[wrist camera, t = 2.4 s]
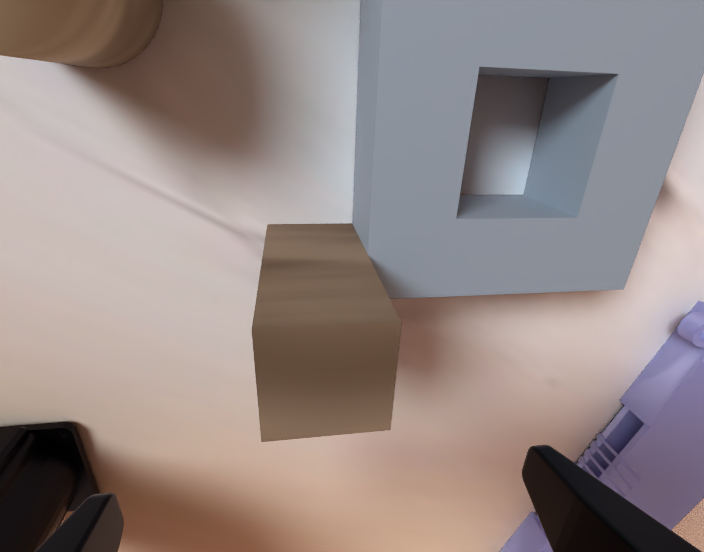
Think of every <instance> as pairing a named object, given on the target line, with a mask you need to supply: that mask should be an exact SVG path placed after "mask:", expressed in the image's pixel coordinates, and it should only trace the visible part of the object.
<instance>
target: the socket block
mask: <svg viewBox="0 0 704 552" xmlns="http://www.w3.org/2000/svg"><path fill="white" fill-rule="evenodd" d="M703 73H704V0H361V8H360V35H359V62H358V89H357V116H356V143H355V170H354V197H353V226H354V228H355V230H356V232H357V234H358V236H359V238H360V240H361V242H362V244H363V246H364V248H365V250H366V252H367V254H368V256H369V258H370V260H371V262H372V264H373V266H374V268H375V270H376V272H377V274H378V276H379V278H380V280H381V282H382V284H383V286H384V288H385V290H386V292H387V294H388V296H389V298H390V299H401V298H426V297H450V296H474V295H498V294H523V293H547V292H571V291H595V290H620V289H624V287H625V284H626V282H627V279H628V276H629V274H630V271H631V268H632V265H633V263H634V260H635V257H636V255H637V252H638V249H639V247H640V244H641V241H642V238H643V236H644V233H645V230H646V228H647V225H648V222H649V219H650V217H651V214H652V211H653V209H654V206H655V203H656V200H657V198H658V195H659V192H660V190H661V187H662V184H663V181H664V179H665V176H666V173H667V171H668V168H669V165H670V163H671V160H672V157H673V154H674V152H675V149H676V146H677V144H678V141H679V138H680V135H681V133H682V130H683V127H684V125H685V122H686V119H687V116H688V114H689V111H690V108H691V106H692V103H693V100H694V97H695V95H696V92H697V89H698V87H699V84H700V81H701V79H702V76H703ZM478 75H498V76H518V77H539V78H550V79H549V84H548V88H547V93H546V97H545V102H544V106H543V111H542V115H541V120H540V124H539V129H538V133H537V138H536V142H535V147H534V151H533V156H532V160H531V165H530V169H529V174H528V178H527V183H526V187H525V192H524V195H460V191H461V184H462V178H463V171H464V165H465V158H466V152H467V145H468V138H469V132H470V125H471V119H472V112H473V106H474V99H475V93H476V86H477V79H478Z"/></svg>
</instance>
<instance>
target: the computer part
mask: <svg viewBox="0 0 704 552" xmlns="http://www.w3.org/2000/svg"><path fill="white" fill-rule="evenodd" d="M620 401H621V402H622V403H623V404H624V407H623V408H622V409H621V410H620V411H619V413H618V414H617V415H616V416H615V418H614V419H613V420H612V421H611V423H610V424H609V425H608V426H607V428H606V429H605V430H604V431H603V433H601V432H600V433H599V434H598V436H597V437H596V438H597V440H594V441H593V442H592V443H591V444H590V446H591V448H587V449H586V451H585V452H584V454H585V455H584V456H581V457H580V458H579V459H578V463H575V464H576V465H578V466H579V467H581V468H582V469H584V470H585V471H586V472H588V473H589V474H591V475H592V476H594V477H595V478H597V479H598V480H599V481H601V482H602V483H604V484H605V485H607V486H608V487H609V488H611V489H612V490H614V491H615V492H617V493H618V494H620V495H621V496H622V497H624V498H625V499H627V500H628V501H630V502H631V503H632V504H634V505H635V506H637V507H638V508H640V509H641V510H643V511H644V512H645V513H647V514H648V515H650V516H651V517H653V518H654V519H655V520H657V521H658V522H660V523H661V524H663V525H664V526H666V527H667V528H668V529H670V530H672V529H673V528H674V527H675V526H676V525H677V524H678V523H679V522H680V521H681V520H682V519H683V518H684V517H685V516H686V515H687V514H688V513H689V512H690V511H691V510H692V509H693V508H694V507H695V506H696V505H697V504H698V503H699V502H700V501H701V500H702V499H703V498H704V302H701V301H698V302H697V303H696V304H695V306H694V307H693V308H692V309H691V311H690V312H689V313H688V314H687V316H686V317H684V318H683V319H682V321H681V322H680V323H679V325H678V327H677V328H676V330H675V331H674V332H673V333H672V335H671V336H670V337H669V338H668V340H667V341H666V342H665V343H664V345H663V346H662V347H661V348H660V350H659V351H658V352H657V354H656V355H655V356H654V357H653V359H652V360H651V361H650V362H649V364H648V365H647V366H646V367H645V369H644V370H643V371H642V372H641V374H640V375H639V376H638V377H637V379H636V380H635V381H634V383H633V384H632V385H631V386H630V388H629V389H628V390H627V391H626V393H625V394H624V395H623V396H622V398H621V399H620ZM499 552H553V550H552V548H551V546H550V544H549V541H548V539H547V537H546V534H545V532H544V529H543V527H542V524H541V522H540V520H539V517H538V515H536V514H535V513H534V512H530V514H529V515H528V516H527V517H526V519H525V520H524V521H523V522H522V524H521V525H520V526H519V527H518V529H517V530H516V531H515V532H514V534H513V535H512V536H511V537H510V539H509V540H508V541H507V543H506V544H505V545H504V546H503V548H502V549H501V550H500V551H499Z"/></svg>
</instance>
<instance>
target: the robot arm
mask: <svg viewBox="0 0 704 552" xmlns="http://www.w3.org/2000/svg"><path fill="white" fill-rule="evenodd" d="M63 431H64V432H63ZM522 477H523V481H524V483H525V486H526V488H527V491H528V493H529V495H530V498H531V500H532V503H533V505H534V508H535V510H536V512H537V515H538V517H539V520H540V522H541V524H542V527H543V529H544V532H545V534H546V537H547V539H548V541H549V544H550V546H551V548H552V550H553V552H701V551H700V550H699V549H697V548H696V547H694V546H693V545H691V544H690V543H688V542H687V541H686V540H684V539H683V538H681V537H680V536H678V535H677V534H676V533H674V532H673V531H671V530H670V529H668V528H667V527H666V526H664V525H663V524H661V523H660V522H658V521H657V520H655V519H654V518H653V517H651V516H650V515H648V514H647V513H645V512H644V511H643V510H641V509H640V508H638V507H637V506H635V505H634V504H632V503H631V502H630V501H628V500H627V499H625V498H624V497H622V496H621V495H620V494H618V493H617V492H615V491H614V490H612V489H611V488H609V487H608V486H607V485H605V484H604V483H602V482H601V481H599V480H598V479H597V478H595V477H594V476H592V475H591V474H589V473H588V472H586V471H585V470H584V469H582V468H581V467H579V466H578V465H576V464H575V463H574V462H572V461H571V460H569V459H568V458H566V457H565V456H563V455H562V454H561V453H559V452H558V451H556V450H555V449H553V448H552V447H550V446H548V445H537V446H531V447H530V448H529V450H528V452H527V456H526V459H525V462H524V465H523V469H522ZM67 511H74V512H73V513H72V514H71V515H70V516H69V517H68V518H67V519H66V520H65V521H64V522H63V523H62V521H63V519H64V517H65V515H66V513H67ZM61 523H62V524H61ZM123 526H124V521H123V516H122V512H121V509H120V506H119V503H118V500H117V497H116V495H115V494H114V493H101V494H100V493H99V490H98V487H97V484H96V482H95V479H94V476H93V473H92V470H91V468H90V465H89V462H88V459H87V456H86V453H85V451H84V448H83V445H82V442H81V439H80V437H79V434H78V431H77V428H76V427H75V425H73V424H72V423H69V422H58V423H45V424H33V425H20V426H8V427H0V552H118V549H119V545H120V540H121V536H122V532H123Z"/></svg>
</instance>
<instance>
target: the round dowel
mask: <svg viewBox="0 0 704 552" xmlns="http://www.w3.org/2000/svg"><path fill="white" fill-rule="evenodd" d="M162 7H163V0H0V55H3V56H10V57H18V58H25V59H33V60H40V61H48V62H55V63H63V64H70V65H78V66H85V67H94V68H104V67H112V66H117V65H120V64H123V63H126V62H127V61H129V60H131V59H133V58H135V57H136V56H137V55H139V54H140V53H141V52H142V51H143V50H144V49H145V48H146V47H147V46H148V44H149V43H150V42H151V40H152V39H153V37H154V35H155V33H156V31H157V29H158V25H159V22H160V19H161V14H162Z"/></svg>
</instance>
